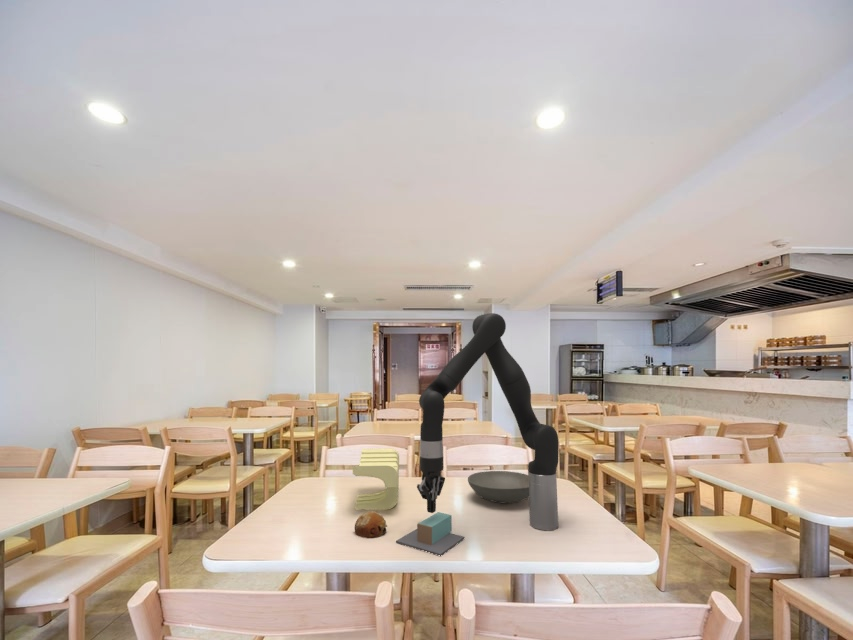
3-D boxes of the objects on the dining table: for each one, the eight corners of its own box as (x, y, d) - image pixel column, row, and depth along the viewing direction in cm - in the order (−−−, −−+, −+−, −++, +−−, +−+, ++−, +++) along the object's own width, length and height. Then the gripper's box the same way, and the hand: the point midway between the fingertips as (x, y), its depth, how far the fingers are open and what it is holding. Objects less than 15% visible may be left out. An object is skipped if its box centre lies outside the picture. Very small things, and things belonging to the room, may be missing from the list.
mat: (422, 527, 135) (422, 525, 135) (464, 538, 126) (464, 536, 127) (396, 542, 124) (396, 540, 124) (440, 556, 115) (440, 554, 115)
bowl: (547, 512, 149) (547, 488, 150) (471, 512, 150) (470, 488, 151) (530, 489, 176) (529, 469, 177) (465, 489, 177) (465, 469, 178)
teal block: (438, 512, 134) (417, 523, 124) (451, 515, 131) (431, 527, 121) (438, 527, 133) (417, 541, 124) (451, 531, 131) (431, 545, 121)
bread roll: (375, 536, 137) (368, 511, 140) (395, 529, 132) (388, 504, 135) (352, 546, 130) (346, 520, 133) (373, 539, 125) (365, 512, 127)
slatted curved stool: (397, 517, 145) (397, 465, 147) (352, 518, 144) (352, 466, 146) (399, 491, 174) (399, 448, 176) (361, 492, 174) (362, 449, 176)
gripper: (429, 460, 121) (429, 521, 119) (452, 452, 132) (452, 508, 130) (409, 456, 126) (409, 515, 124) (433, 449, 136) (433, 503, 134)
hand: (431, 511), depth 127 cm, fingers closed
